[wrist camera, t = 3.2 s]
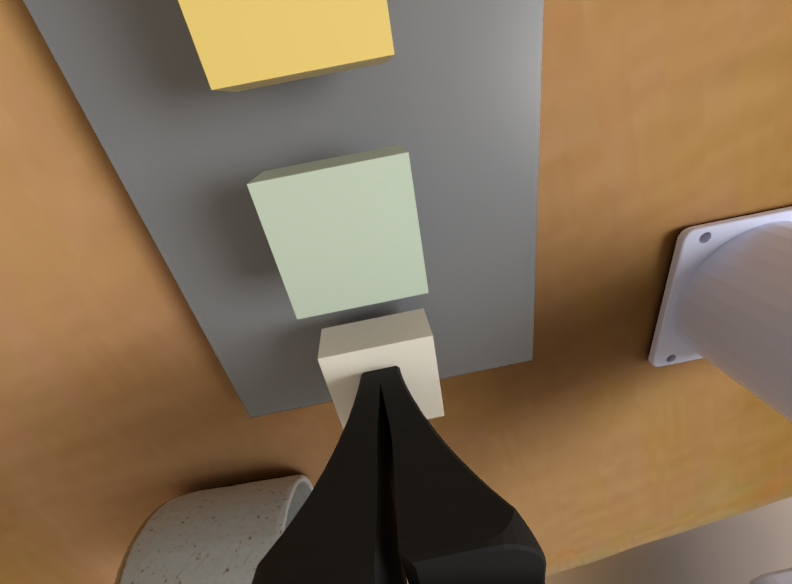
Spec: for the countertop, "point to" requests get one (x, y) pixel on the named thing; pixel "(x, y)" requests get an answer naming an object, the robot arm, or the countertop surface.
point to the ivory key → (381, 359)
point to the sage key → (343, 230)
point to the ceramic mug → (213, 533)
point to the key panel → (316, 140)
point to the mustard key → (285, 39)
